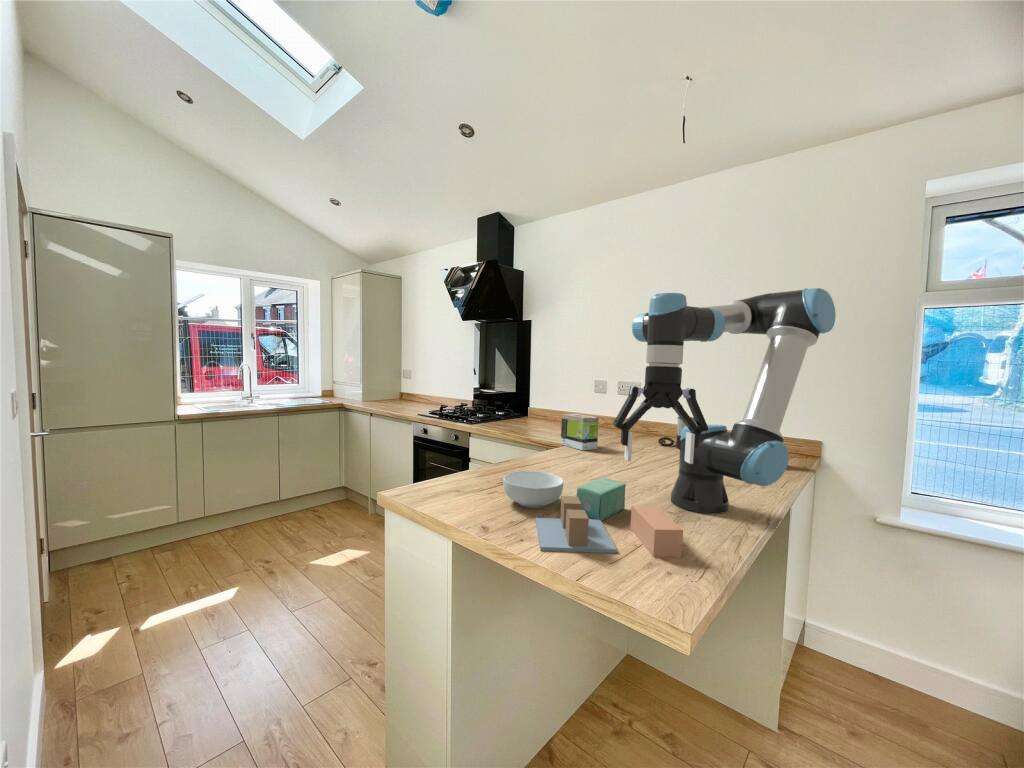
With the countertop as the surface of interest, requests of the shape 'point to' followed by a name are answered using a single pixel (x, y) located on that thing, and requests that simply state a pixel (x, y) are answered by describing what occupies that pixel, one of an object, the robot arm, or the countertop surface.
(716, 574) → the countertop surface
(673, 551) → the beam
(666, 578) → the countertop surface
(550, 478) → the cereal bowl
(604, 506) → the box
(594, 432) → the tea box
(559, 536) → the base
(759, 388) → the robot arm
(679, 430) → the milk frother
